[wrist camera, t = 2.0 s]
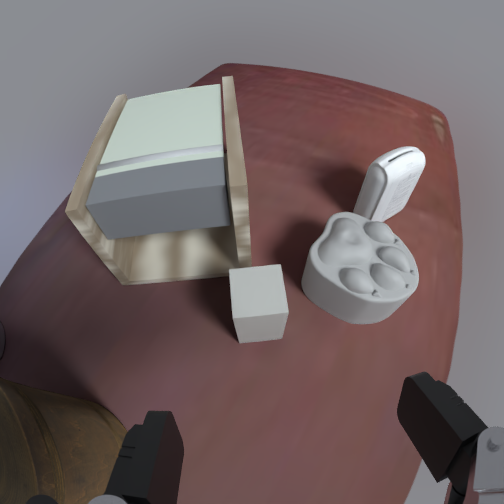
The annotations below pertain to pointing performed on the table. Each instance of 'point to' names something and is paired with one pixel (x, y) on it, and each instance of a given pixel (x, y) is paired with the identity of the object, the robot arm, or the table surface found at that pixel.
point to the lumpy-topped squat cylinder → (359, 270)
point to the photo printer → (389, 183)
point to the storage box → (178, 242)
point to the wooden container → (54, 446)
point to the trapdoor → (163, 166)
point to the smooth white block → (258, 303)
